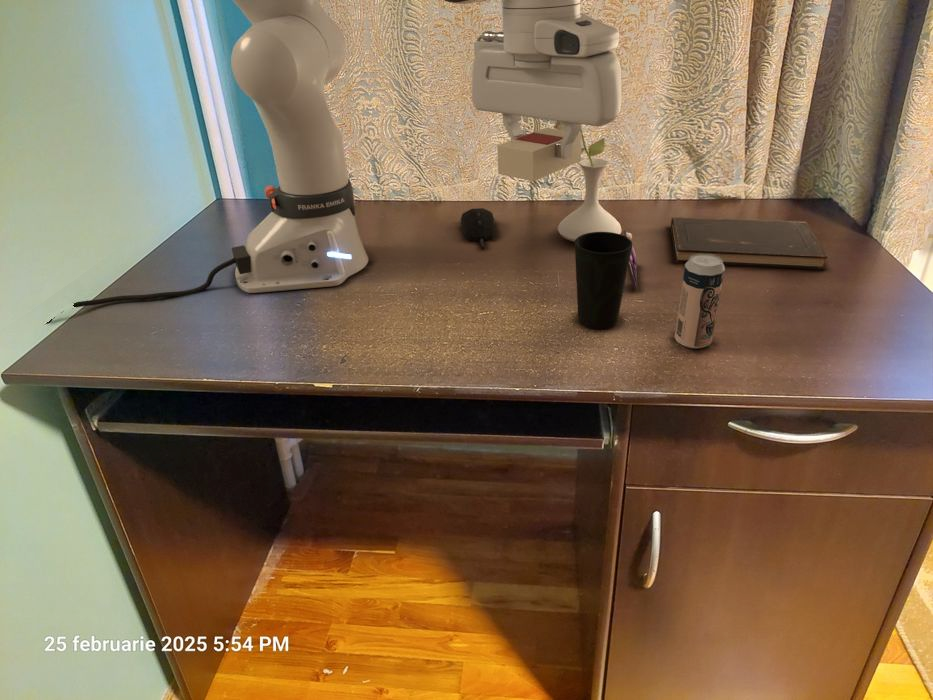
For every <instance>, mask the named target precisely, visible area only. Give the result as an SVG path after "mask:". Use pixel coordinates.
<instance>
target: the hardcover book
mask: <svg viewBox="0 0 933 700" xmlns="http://www.w3.org/2000/svg"><path fill="white" fill-rule="evenodd" d="M670 231H671V232H670V233H671V239H672V240H671V241H672V247H673V254H674V255H673V256H674V262H675V263H682V264H684V263H685V264H686V262H688V261H689V259H690V257H691V256H692V255H696V254H700V253H701V254H712V255H715V256H718V257H719V258H720V259H721V260H722V261H723V264H724V266H741V267H743V266H744V267H760V268H761V267H763V268H783V269H801V270H802V269H805V270H825V266H824V264H825V259H828V255H827V254H826V252H825V250H824V249H823V247H822V245H821V244H820V242H819V240H818V239H817V237H816V236H815V233H814V232H813V230H812V229H811V227H810V226H809V224H808V222H807V221H800V220H799V221H798V220H774V219H773V220H770V219H744V218H743V219H742V218H719V217H718V218H715V217H714V218H713V217H690V216H689V217H688V216H671V222H670Z"/></svg>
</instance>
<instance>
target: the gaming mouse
mask: <svg viewBox="0 0 933 700" xmlns="http://www.w3.org/2000/svg"><path fill="white" fill-rule="evenodd" d="M495 225H496V224H495V218H494V214H493V212H492V211H490V210H488V209H485V208H483V207H479V208H477V207H476V208H470V209H468V210H467V211H465V212H463V213H462V214H461V217H460V227H461V230H462V232H463V235H464V237H465V238H466V239H467V240H468V241H477V242H479V243H480V246H481V249H485V246H484V245H485V244H484V243H485V242H484V241H487V240H488V241H489V240H492V239H493V238H495V236H496V226H495Z"/></svg>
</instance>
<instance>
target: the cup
mask: <svg viewBox="0 0 933 700" xmlns="http://www.w3.org/2000/svg"><path fill="white" fill-rule="evenodd" d="M632 246H633V247H634V245H633V241H632V239H631V240H630V239H629V238H627V237H626V236H624V234H621V233H620V234H617V233H612V232H591V233H587V234H583V235H581V236H579V237H578V238H576V240H575V242H574V258H575V280H576V281H575V282H576V301H577V321H578V323H579V324H580V325H581V326H582V327H584V328H586V329H589V330H595V331H596V330H597V331H599V330H600V331H603V330H609V329H612V328H614V327H615V326H616V325H617V324H618V320H619V315H620V310H621V306H622V305H621V304H622V301H623V296H624V291H625V286H626V280H627V276H628V274H627V273H628V272H629V270H628V266H629V261H630V256H631V251H632V249H633V247H632Z"/></svg>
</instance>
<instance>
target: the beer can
mask: <svg viewBox="0 0 933 700" xmlns="http://www.w3.org/2000/svg"><path fill="white" fill-rule="evenodd" d="M683 270H684V271H683V277H682V284H681V290H680V297H679V303H678V311H677V317H676V324H675V331H674V339H675V341H676V342H677V343H678V344H680V345H681V346H683V347H684V348H685V347H686V348H689V349H694V350H695V349H702V348H706V347H708V346H710V345H711V344H712V342H713V337H714V331H715V326H716V320H717V315H718V309H719V303H720V298H721V293H722V286H723V281H724V277H725V276H724V274H725V271H726V266H725V265H724V264H723V261H722V260H721V259H720V258H719V257H718V256H715V255H712V254H701V253H700V254H696V255H692V256H691V257H690V259H689V261H688V262H686V263H685V264H684V269H683Z"/></svg>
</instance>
